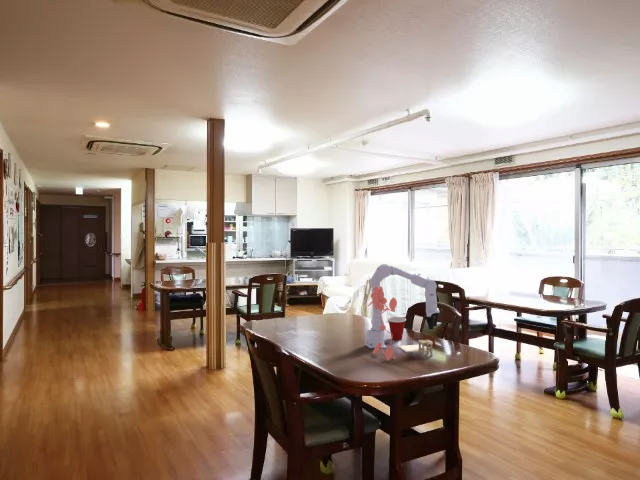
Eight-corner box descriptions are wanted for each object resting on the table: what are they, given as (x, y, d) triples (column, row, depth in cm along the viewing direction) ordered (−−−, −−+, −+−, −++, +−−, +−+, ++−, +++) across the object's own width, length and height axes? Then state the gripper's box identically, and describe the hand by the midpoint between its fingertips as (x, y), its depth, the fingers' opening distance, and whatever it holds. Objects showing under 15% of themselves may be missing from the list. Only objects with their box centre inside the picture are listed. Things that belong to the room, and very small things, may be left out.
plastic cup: (384, 340, 249) (384, 319, 249) (390, 336, 258) (390, 316, 258) (403, 342, 244) (403, 320, 244) (408, 338, 253) (408, 317, 253)
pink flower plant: (377, 350, 226) (376, 282, 226) (406, 363, 203) (405, 287, 202) (351, 353, 220) (349, 284, 220) (378, 367, 197) (376, 290, 196)
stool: (422, 356, 214) (422, 342, 214) (418, 354, 219) (418, 340, 219) (432, 356, 215) (432, 342, 215) (428, 353, 220) (428, 339, 220)
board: (406, 352, 222) (406, 350, 222) (398, 347, 233) (398, 345, 233) (430, 351, 224) (430, 349, 224) (421, 346, 235) (421, 344, 235)
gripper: (435, 304, 224) (437, 330, 224) (441, 300, 237) (443, 325, 237) (421, 304, 228) (423, 330, 228) (428, 300, 241) (430, 324, 241)
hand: (432, 327), depth 233 cm, fingers open, 7 cm apart
